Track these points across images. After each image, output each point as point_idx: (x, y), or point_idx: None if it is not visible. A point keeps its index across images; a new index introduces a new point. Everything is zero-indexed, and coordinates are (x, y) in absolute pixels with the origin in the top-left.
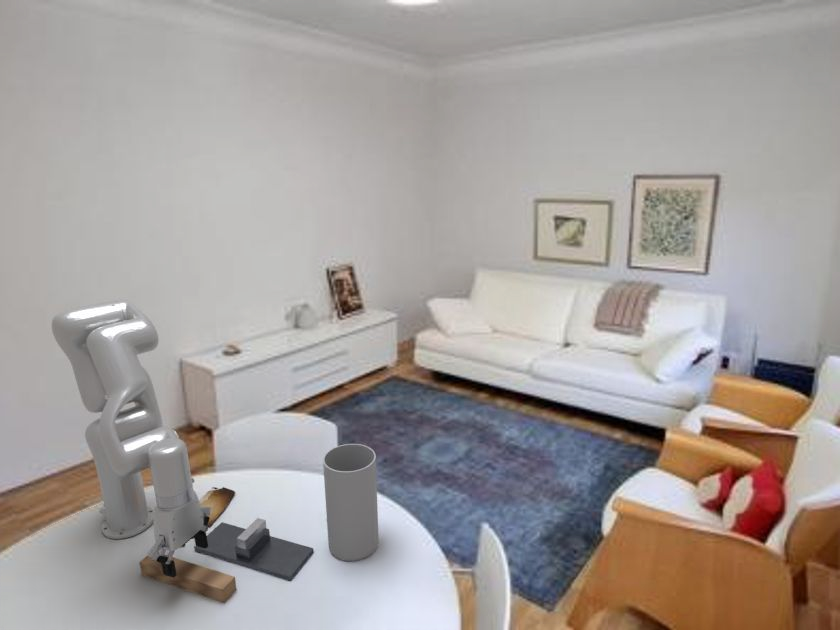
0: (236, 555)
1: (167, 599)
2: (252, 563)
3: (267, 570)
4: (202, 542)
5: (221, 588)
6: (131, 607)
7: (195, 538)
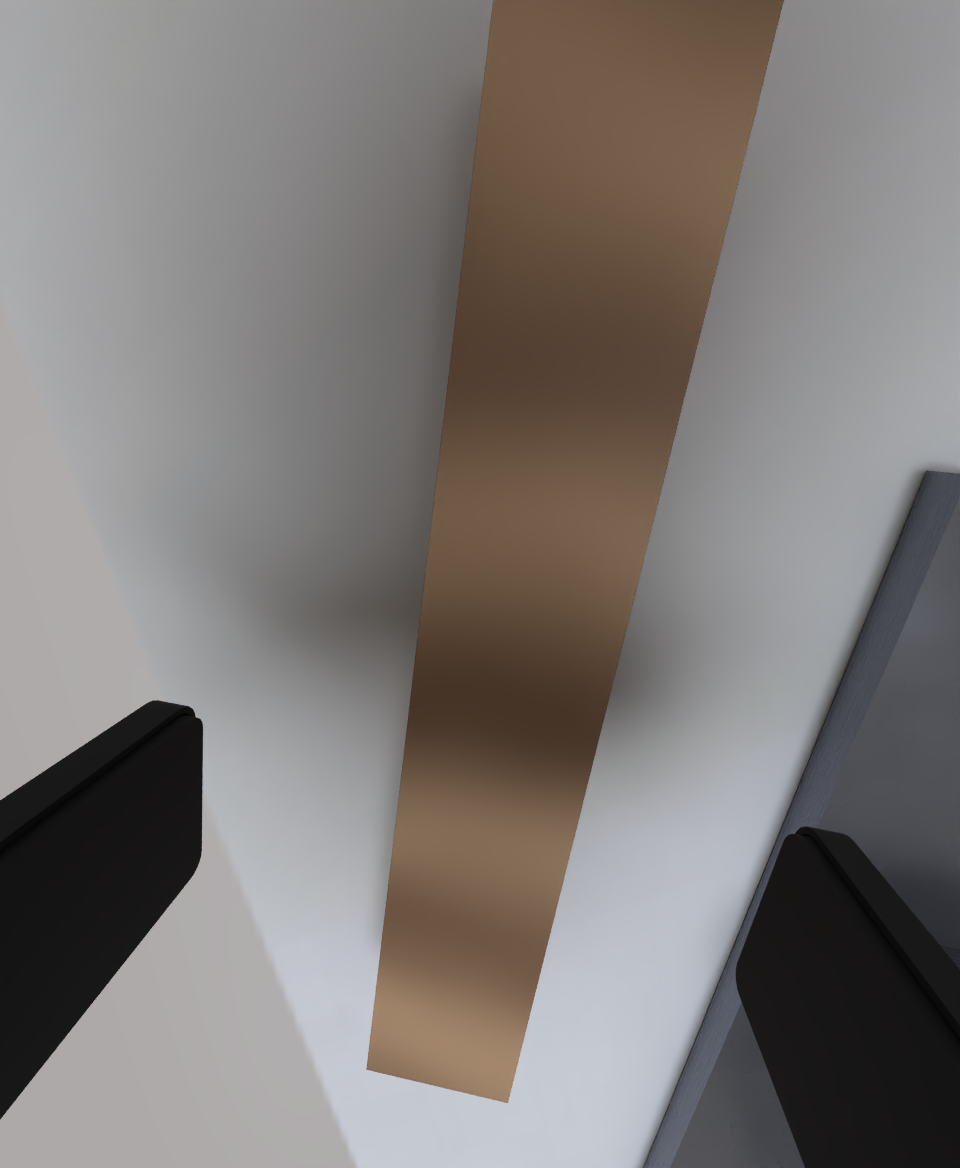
0: None
1: (319, 582)
2: (740, 1040)
3: (684, 1122)
4: (791, 1061)
5: (375, 1056)
6: (160, 338)
7: (881, 988)
